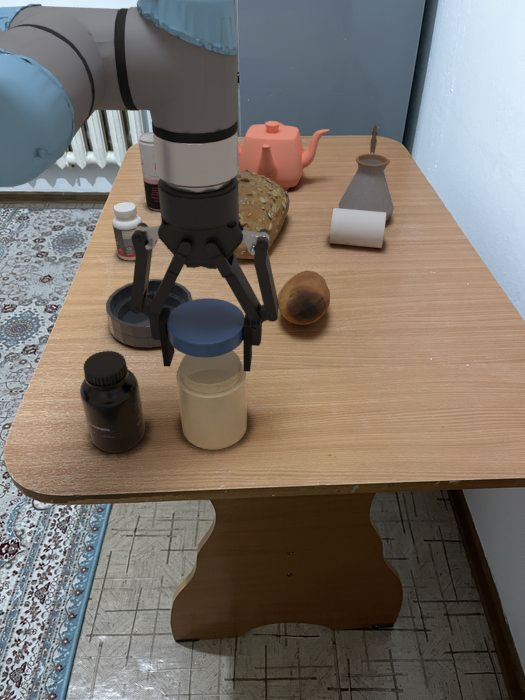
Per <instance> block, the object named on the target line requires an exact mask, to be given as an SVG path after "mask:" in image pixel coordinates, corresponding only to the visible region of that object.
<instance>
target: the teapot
mask: <svg viewBox="0 0 525 700" xmlns="http://www.w3.org/2000/svg"><path fill="white" fill-rule="evenodd" d="M329 131H330V129H328V128H326V129H319V130H317V131H315V132H314V133H313V134H312V136H311V139H310V142H309V146H308V148H307V149H305V150H304V145H303V140H302V137H301V133H300V131H299V128H298V127H297V126H293V125H285V124H284V123H282V122H279V121H277V120H268V121H266V122H264V123H263V124H262V123H259V124H252V125H250V126H249V128H248V129H247V131H246V133H245V135H244V138H243V143H242V145H241V144H240V143H239V142H238V170H240V171H245V169H247V170H248V171H250V172H255V173H258V174H259V175H262V176H265V177H267V178H269V179H270V180H271V181H274V182H276V184H280V185H281V186H282V188H283V190H284V191H288V190H290V188H293V187H296V186H297V185H298V183H299V182H300V179H301V177H302V175H303V173H304V169H305V168H307V167H309V166H310V165H311V164H312V163H313V161H314V160H315V157H316V154H317V150H318V149H317V148H318V145H319V142H320V139H321V138H322V136H323V135H325V134H326V133H328V132H329Z"/></svg>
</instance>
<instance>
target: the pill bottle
mask: <svg viewBox="0 0 525 700" xmlns="http://www.w3.org/2000/svg"><path fill="white" fill-rule="evenodd" d="M113 214H114V217H113V218H112V221H111V223H112V224H111V225H112V229H113V235H114V241H115V245H116V251H117V255H118V256H117V257H119V258H120V259H122V260H124V261H135V258H136V253H135V250H134V247H133V243H132V240H131V237H132V235H133V233H134V231H135V229H136V227H137V225H138V224H139V223H143V219H142V217H141V216H140V215H139V214H138V210H137V206H136V204H135V203H133V202H129V201H124V202H119V203H116V204H114V206H113Z"/></svg>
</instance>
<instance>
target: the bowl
mask: <svg viewBox="0 0 525 700" xmlns="http://www.w3.org/2000/svg"><path fill="white" fill-rule="evenodd" d="M162 280H163V278H149V283H148V291H147V298H150V299H152V300H153V299H154V297H155V295H156V293H157V290H158V288H159V286H160V284H161V282H162ZM132 288H133V282H130V283H126V284H125V285H122V286H121V287H118V288H116V289H115V290H114V292H112V293H111V294H110V295H109V297H108V298H107V300H106V302H105V313H106V317H107V321H108V326H109V332H110V333H111V335H112V336H113V337H114V339H115V340H118V341H119V342H120V343H122V344H124V345H128V346H131V347H134V348H149V349H150V348H156V347H161V340H154V339H153V338H152V335H151V327H150V320H149V317H148V316H147V315H145V314H143V313H139V314H135V313H133V312H132V311H131V298H132ZM191 300H193V296H192V293H191V291H190V290H189V289H188V288H187V287H186V286H184V285H182V284H181V283H179V282H176V281H175V283H174V285H173V288H172V290H171V292H170V294H169V296H168V298H167V300H166V302H165V304H164V306H163V307H166V308H170V313H171V312H172V311H173V310H174V309H175V308H176V307H178V306H179V305H181V304H183V303H185V302H188V301H191ZM162 310H163V308H162Z"/></svg>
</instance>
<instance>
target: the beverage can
mask: <svg viewBox="0 0 525 700" xmlns="http://www.w3.org/2000/svg"><path fill="white" fill-rule="evenodd" d="M137 143H138V150H139V156H140V158H139V159H140V164H141V171H142V179H143V187H144V188H143V189H144V195H145V203H146V206H147V207H148V208H149V209H151V210H152V211H156V212H161V209H160V200H159V190H158V182H159V180H160V177H159V176H158V175H157V172H156V161H155V150H154V139H153V131H147V132H144V133H142V134H139V136H138V142H137Z"/></svg>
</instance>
